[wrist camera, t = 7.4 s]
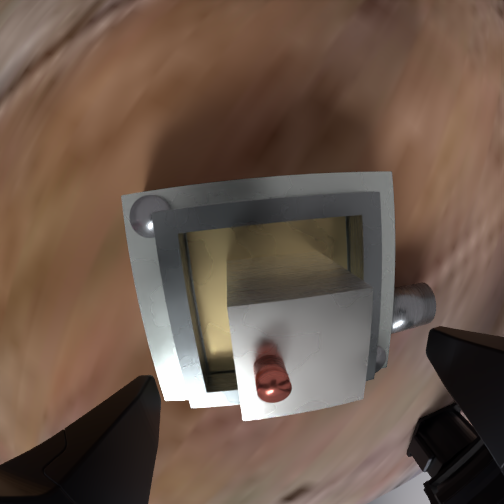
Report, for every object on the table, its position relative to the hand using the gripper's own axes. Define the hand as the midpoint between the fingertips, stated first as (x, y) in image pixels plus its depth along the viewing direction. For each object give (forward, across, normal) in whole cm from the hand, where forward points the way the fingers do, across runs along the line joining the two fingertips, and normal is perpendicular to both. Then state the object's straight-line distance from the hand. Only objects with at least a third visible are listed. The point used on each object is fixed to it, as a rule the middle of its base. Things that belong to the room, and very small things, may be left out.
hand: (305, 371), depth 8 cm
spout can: (+7, 0, 0) cm, 7 cm away
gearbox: (+11, -2, 0) cm, 11 cm away
